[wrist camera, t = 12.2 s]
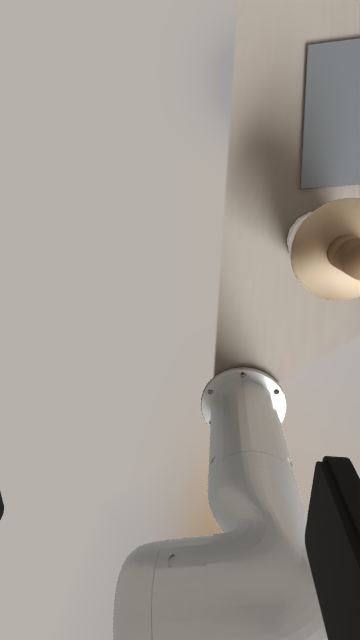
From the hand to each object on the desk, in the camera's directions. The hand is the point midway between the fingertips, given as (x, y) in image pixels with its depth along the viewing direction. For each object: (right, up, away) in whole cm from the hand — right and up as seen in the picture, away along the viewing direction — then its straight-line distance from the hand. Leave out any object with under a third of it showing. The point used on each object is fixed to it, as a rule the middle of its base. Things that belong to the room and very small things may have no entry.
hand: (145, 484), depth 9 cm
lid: (+17, +11, +23) cm, 30 cm away
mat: (+21, +27, +27) cm, 44 cm away
